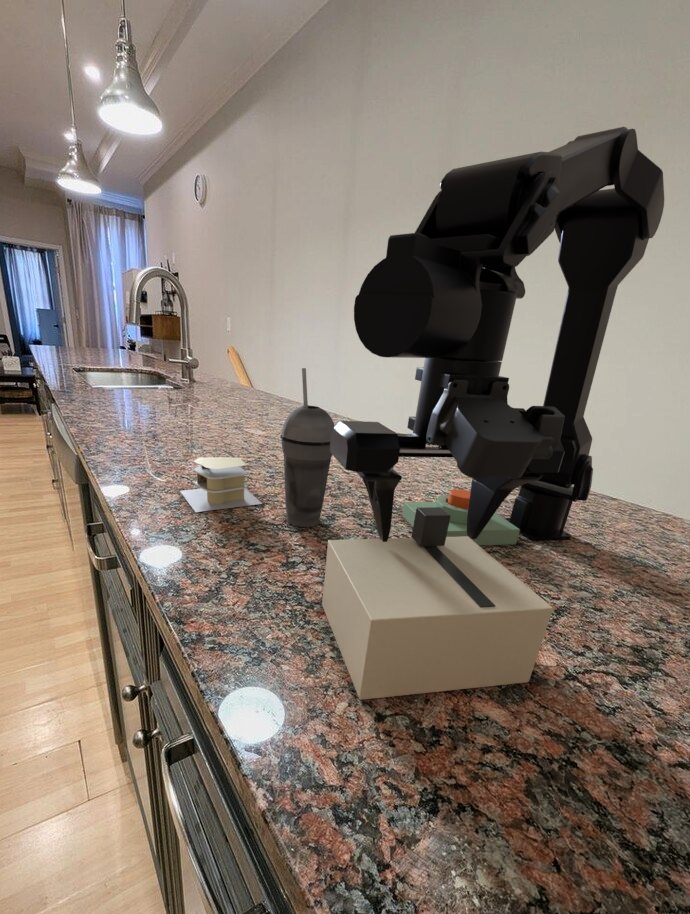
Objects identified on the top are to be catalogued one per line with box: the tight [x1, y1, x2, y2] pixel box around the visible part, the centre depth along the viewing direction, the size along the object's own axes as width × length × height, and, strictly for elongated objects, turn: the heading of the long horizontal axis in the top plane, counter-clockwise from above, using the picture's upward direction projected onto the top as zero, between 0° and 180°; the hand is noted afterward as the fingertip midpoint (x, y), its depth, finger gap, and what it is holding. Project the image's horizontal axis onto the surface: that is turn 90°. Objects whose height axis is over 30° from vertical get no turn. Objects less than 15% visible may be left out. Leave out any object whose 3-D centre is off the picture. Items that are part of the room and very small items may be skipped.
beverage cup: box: [279, 367, 336, 528], centre depth 58 cm, size 7×7×20 cm
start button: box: [448, 488, 471, 509], centre depth 60 cm, size 4×4×2 cm
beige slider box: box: [321, 536, 554, 701], centre depth 38 cm, size 14×12×7 cm
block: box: [401, 494, 520, 546], centre depth 61 cm, size 12×10×4 cm
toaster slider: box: [411, 507, 451, 546], centre depth 40 cm, size 2×2×3 cm
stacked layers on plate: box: [179, 456, 263, 513], centre depth 66 cm, size 10×9×6 cm
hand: (428, 538), depth 41 cm, fingers open, 8 cm apart
